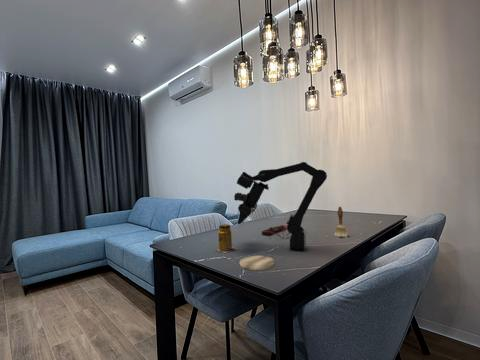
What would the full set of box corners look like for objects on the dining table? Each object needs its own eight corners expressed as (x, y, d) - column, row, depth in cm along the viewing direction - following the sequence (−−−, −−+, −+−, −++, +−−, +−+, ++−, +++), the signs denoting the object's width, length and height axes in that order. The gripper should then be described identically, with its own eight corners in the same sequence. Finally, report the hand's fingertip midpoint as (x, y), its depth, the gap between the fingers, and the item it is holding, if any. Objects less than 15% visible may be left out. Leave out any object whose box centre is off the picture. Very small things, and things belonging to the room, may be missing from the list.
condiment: (215, 250, 128) (214, 225, 128) (230, 246, 133) (229, 222, 133) (224, 253, 122) (223, 227, 122) (238, 249, 127) (237, 224, 127)
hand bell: (337, 238, 139) (336, 208, 139) (330, 235, 148) (329, 206, 147) (352, 237, 140) (351, 207, 140) (344, 233, 149) (343, 205, 148)
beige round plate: (279, 260, 110) (279, 257, 110) (266, 272, 98) (266, 269, 98) (248, 256, 117) (248, 254, 117) (233, 267, 105) (233, 264, 104)
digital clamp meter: (255, 229, 153) (280, 221, 171) (255, 236, 153) (280, 228, 171) (290, 234, 137) (313, 225, 155) (290, 243, 137) (314, 233, 155)
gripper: (244, 184, 139) (231, 210, 141) (236, 187, 120) (221, 217, 123) (263, 194, 137) (249, 221, 139) (257, 199, 118) (242, 229, 121)
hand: (240, 221), depth 130 cm, fingers open, 9 cm apart
